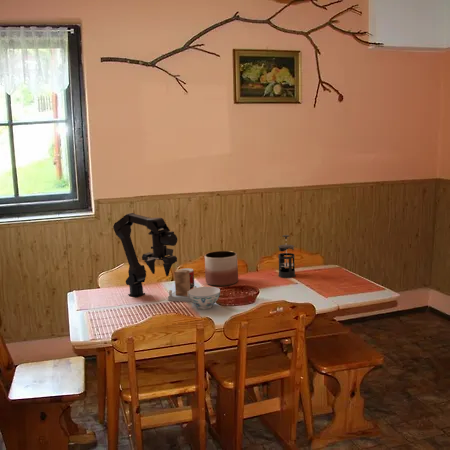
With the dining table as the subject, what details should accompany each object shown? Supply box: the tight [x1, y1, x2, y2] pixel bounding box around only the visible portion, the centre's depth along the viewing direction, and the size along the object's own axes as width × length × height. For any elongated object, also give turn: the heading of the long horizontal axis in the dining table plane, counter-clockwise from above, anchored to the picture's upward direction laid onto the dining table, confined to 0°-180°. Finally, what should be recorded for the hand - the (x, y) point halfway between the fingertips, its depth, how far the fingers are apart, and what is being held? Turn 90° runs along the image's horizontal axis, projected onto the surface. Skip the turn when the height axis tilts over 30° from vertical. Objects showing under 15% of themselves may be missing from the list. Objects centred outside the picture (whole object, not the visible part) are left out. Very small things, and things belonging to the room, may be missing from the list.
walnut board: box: [173, 269, 190, 296], centre depth 276 cm, size 6×4×12 cm
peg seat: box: [167, 285, 197, 303], centre depth 277 cm, size 12×10×5 cm
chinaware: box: [188, 286, 221, 310], centre depth 262 cm, size 15×15×8 cm
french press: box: [277, 234, 296, 279], centre depth 308 cm, size 12×9×23 cm
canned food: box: [179, 267, 195, 290], centre depth 289 cm, size 8×8×11 cm
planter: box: [204, 250, 239, 287], centre depth 301 cm, size 18×18×16 cm
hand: (160, 274), depth 273 cm, fingers open, 9 cm apart
